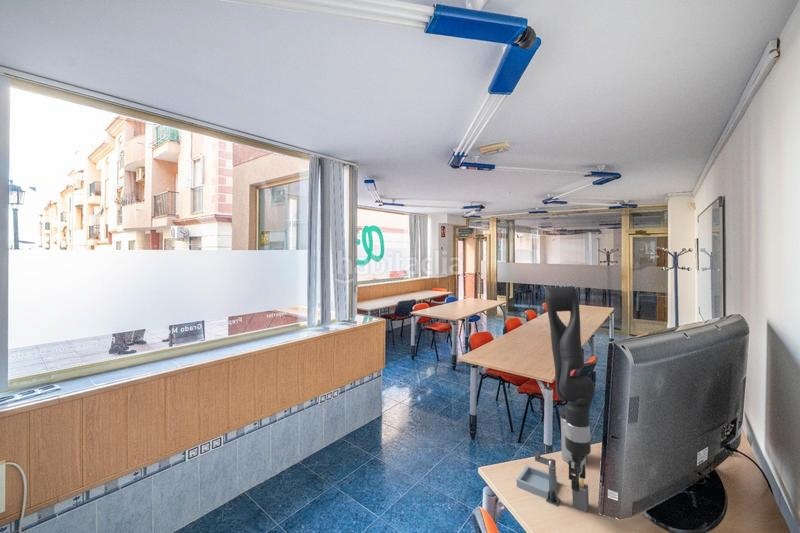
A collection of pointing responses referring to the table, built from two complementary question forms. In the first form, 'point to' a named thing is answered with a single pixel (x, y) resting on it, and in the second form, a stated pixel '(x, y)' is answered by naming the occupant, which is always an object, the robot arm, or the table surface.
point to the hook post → (552, 477)
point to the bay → (534, 481)
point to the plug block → (581, 497)
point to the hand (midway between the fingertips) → (578, 483)
